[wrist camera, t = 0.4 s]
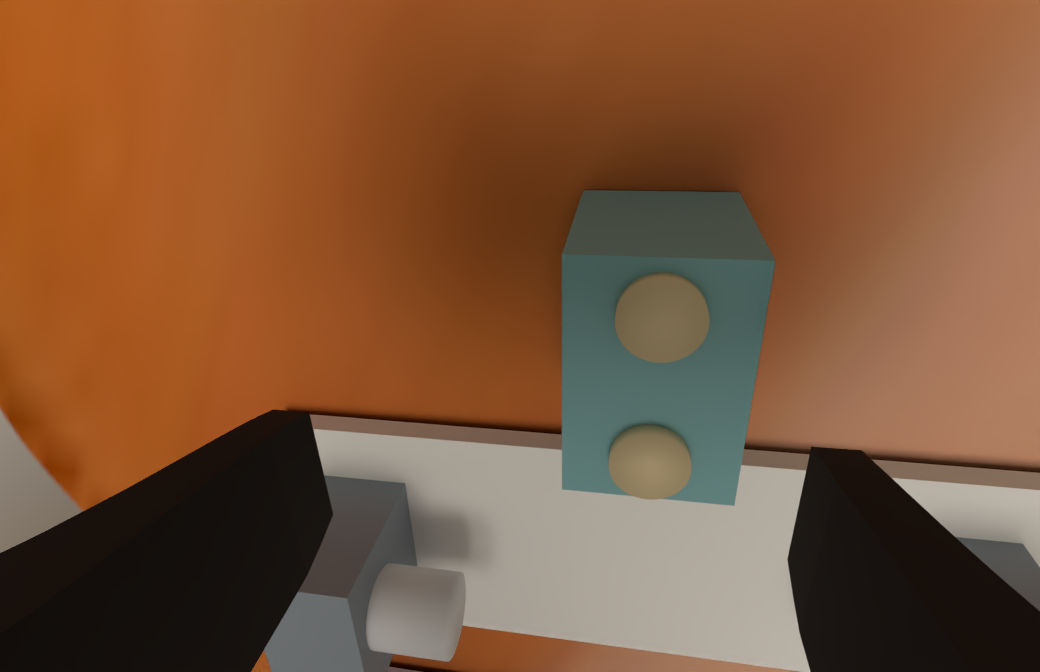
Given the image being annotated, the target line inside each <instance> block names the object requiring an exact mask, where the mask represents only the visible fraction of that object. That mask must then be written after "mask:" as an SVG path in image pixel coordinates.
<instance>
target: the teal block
mask: <svg viewBox="0 0 1040 672" xmlns="http://www.w3.org/2000/svg"><path fill="white" fill-rule="evenodd" d="M774 267H775V259H774V257H773V255H772V253H771V251H770V249H769V247H768V245H767V244H766V242H765V240H764V238H763V236H762V234H761V232H760V230H759V228H758V226H757V224H756V223H755V221H754V219H753V217H752V215H751V213H750V211H749V209H748V207H747V205H746V204H745V202H744V200H743V198H742V196H741V194H740V192H693V191H618V190H583V193H582V196H581V199H580V202H579V205H578V208H577V211H576V214H575V217H574V220H573V223H572V225H571V228H570V231H569V234H568V237H567V240H566V243H565V246H564V249H563V252H562V489H563V490H573V491H584V492H594V493H605V494H615V495H626V496H634V497H637V498H641V499H650V500H654V499H668V500H678V501H689V502H699V503H710V504H720V505H731V506H734V505H735V499H736V493H737V487H738V481H739V475H740V469H741V463H742V457H743V451H744V445H745V439H746V433H747V428H748V422H749V416H750V410H751V404H752V398H753V392H754V386H755V380H756V374H757V368H758V362H759V356H760V350H761V344H762V338H763V333H764V327H765V321H766V315H767V309H768V303H769V297H770V291H771V285H772V279H773V273H774Z"/></svg>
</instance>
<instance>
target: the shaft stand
mask: <svg viewBox="0 0 1040 672" xmlns="http://www.w3.org/2000/svg"><path fill="white" fill-rule="evenodd" d="M310 418H311V422H312V426H313V430H314V435H315V439H316V443H317V447H318V452H319V456H320V460H321V464H322V468H323V473H324V477H325V481H326V485H327V490H328V494H329V498H330V502H331V507H332V511H333V516H332V519H331V521H330V524H329V526H328V529H327V531H326V534H325V536H324V538H323V541H322V543H321V546H320V548H319V550H318V553H317V555H316V557H315V559H314V562H313V564H312V566H311V568H310V571H309V573H308V575H307V577H306V578H305V580H304V582H303V584H302V586H301V587H300V589H299V591H298V593H297V594H296V596H295V598H294V599H293V601H292V603H291V605H290V606H289V608H288V610H287V612H286V613H285V615H284V617H283V618H282V620H281V622H280V624H279V625H278V627H277V629H276V630H275V632H274V634H273V635H272V637H271V639H270V640H269V642H268V644H267V645H266V647H265V649H264V650H265V653H266V656H267V659H268V662H269V665H270V668H271V671H272V672H387V670H388V667H389V665H390V662H391V659H392V657H393V654H398V655H405V656H412V657H418V658H425V659H432V660H439V661H446V662H449V661H450V660H451V659H452V657H453V656H454V653H455V651H456V648H457V645H458V642H459V638H460V634H461V630H462V625H463V626H470V627H477V628H485V629H492V630H499V631H507V632H514V633H521V634H529V635H536V636H543V637H551V638H558V639H565V640H573V641H580V642H587V643H595V644H602V645H610V646H617V647H624V648H632V649H639V650H646V651H654V652H661V653H668V654H676V655H683V656H690V657H698V658H705V659H712V660H720V661H727V662H734V663H742V664H749V665H756V666H764V667H771V668H778V669H786V670H793V671H800V672H810V668H809V665H808V661H807V658H806V654H805V651H804V647H803V644H802V640H801V636H800V633H799V627H798V622H797V616H796V610H795V605H794V599H793V593H792V586H791V580H790V574H789V567H788V561H787V558H788V554H789V549H790V544H791V540H792V535H793V530H794V526H795V521H796V516H797V511H798V507H799V502H800V497H801V493H802V488H803V483H804V479H805V474H806V469H807V465H808V460H809V455H810V454H798V453H785V452H773V451H760V450H748V449H744V451H743V457H742V463H741V469H740V475H739V481H738V487H737V493H736V499H735V505H734V506H731V505H720V504H710V503H699V502H689V501H678V500H668V499H654V500H650V499H641V498H637V497H634V496H626V495H615V494H605V493H594V492H584V491H573V490H563V489H562V435H561V434H549V433H536V432H524V431H511V430H499V429H486V428H474V427H461V426H449V425H436V424H424V423H411V422H399V421H387V420H374V419H362V418H349V417H337V416H324V415H312V414H310ZM873 461H874V462H875V463H876V464H877V465H878V466H879V467H880V468H881V469H882V470H884V471H885V472H886V473H887V474H888V475H889V476H890V477H891V478H892V479H893V480H894V481H895V482H896V483H898V484H899V485H900V486H901V487H902V488H903V489H904V490H905V491H906V492H907V493H908V494H909V495H910V496H911V497H912V498H914V499H915V500H916V501H917V502H918V503H919V504H920V505H921V506H922V507H923V508H924V509H925V510H926V511H928V512H929V513H930V514H931V515H932V516H933V517H934V518H935V519H936V520H937V521H938V522H939V523H940V524H942V525H943V526H944V527H945V528H946V529H947V530H948V531H949V532H950V533H951V534H953V535H954V536H955V537H956V538H957V539H958V540H959V541H960V542H961V543H962V544H963V545H965V546H966V547H967V548H968V549H969V550H970V551H971V552H972V553H974V554H975V555H976V556H977V557H978V558H979V559H980V560H981V561H982V562H984V563H985V564H986V565H987V566H988V567H989V568H990V569H991V570H993V571H994V572H995V573H996V574H997V575H998V576H999V577H1001V578H1002V579H1003V580H1004V581H1005V582H1006V583H1007V584H1009V585H1010V586H1011V587H1012V588H1013V589H1014V590H1016V591H1017V592H1018V593H1019V594H1020V595H1022V596H1023V597H1024V598H1025V599H1026V600H1027V601H1029V602H1030V603H1031V604H1032V605H1033V606H1034V607H1036V608H1037V609H1038V610H1039V611H1040V473H1034V472H1022V471H1010V470H997V469H985V468H972V467H960V466H947V465H935V464H922V463H910V462H897V461H885V460H873Z"/></svg>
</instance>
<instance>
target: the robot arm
mask: <svg viewBox="0 0 1040 672" xmlns="http://www.w3.org/2000/svg"><path fill="white" fill-rule="evenodd" d="M332 516H333V511H332V507H331V502H330V498H329V494H328V490H327V485H326V481H325V477H324V473H323V468H322V464H321V460H320V456H319V452H318V447H317V443H316V439H315V435H314V430H313V426H312V422H311V418H310V414H309V412H299V411H284V410H271V411H269V412H267V413H265V414H263V415H260V416H258V417H256V418H254V419H252V420H250V421H248V422H246V423H244V424H242V425H241V426H239V427H237V428H235V429H233V430H231V431H229V432H228V433H226V434H224V435H222V436H220V437H219V438H217V439H215V440H213V441H211V442H210V443H208V444H206V445H204V446H202V447H201V448H199V449H197V450H195V451H194V452H192V453H190V454H188V455H186V456H185V457H183V458H181V459H179V460H177V461H176V462H174V463H172V464H170V465H169V466H167V467H165V468H163V469H161V470H160V471H158V472H156V473H154V474H152V475H151V476H149V477H147V478H145V479H143V480H142V481H140V482H138V483H136V484H135V485H133V486H131V487H129V488H127V489H125V490H123V491H122V492H120V493H118V494H116V495H114V496H112V497H110V498H108V499H106V500H104V501H102V502H101V503H99V504H97V505H95V506H93V507H91V508H89V509H87V510H85V511H83V512H81V513H80V514H78V515H76V516H74V517H72V518H70V519H68V520H66V521H64V522H62V523H60V524H59V525H57V526H55V527H53V528H51V529H49V530H47V531H45V532H43V533H41V534H39V535H37V536H35V537H33V538H31V539H29V540H27V541H25V542H23V543H21V544H19V545H17V546H15V547H12V548H10V549H8V550H6V551H4V552H2V553H0V672H251V671H252V669H253V667H254V666H255V664H256V662H257V661H258V659H259V657H260V655H261V654H262V652H263V650H264V649H265V647H266V645H267V644H268V642H269V640H270V639H271V637H272V635H273V634H274V632H275V630H276V629H277V627H278V625H279V624H280V622H281V620H282V618H283V617H284V615H285V613H286V612H287V610H288V608H289V606H290V605H291V603H292V601H293V599H294V598H295V596H296V594H297V593H298V591H299V589H300V587H301V586H302V584H303V582H304V580H305V578H306V577H307V575H308V573H309V571H310V568H311V566H312V564H313V562H314V559H315V557H316V555H317V553H318V550H319V548H320V546H321V543H322V541H323V538H324V536H325V534H326V531H327V529H328V526H329V524H330V521H331V519H332ZM787 561H788V567H789V574H790V580H791V586H792V593H793V599H794V605H795V610H796V616H797V622H798V627H799V633H800V636H801V640H802V644H803V647H804V651H805V654H806V658H807V661H808V665H809V668H810V672H1040V611H1039V610H1038V609H1037V608H1036V607H1034V606H1033V605H1032V604H1031V603H1030V602H1029V601H1027V600H1026V599H1025V598H1024V597H1023V596H1022V595H1020V594H1019V593H1018V592H1017V591H1016V590H1014V589H1013V588H1012V587H1011V586H1010V585H1009V584H1007V583H1006V582H1005V581H1004V580H1003V579H1002V578H1001V577H999V576H998V575H997V574H996V573H995V572H994V571H993V570H991V569H990V568H989V567H988V566H987V565H986V564H985V563H984V562H982V561H981V560H980V559H979V558H978V557H977V556H976V555H975V554H974V553H972V552H971V551H970V550H969V549H968V548H967V547H966V546H965V545H963V544H962V543H961V542H960V541H959V540H958V539H957V538H956V537H955V536H954V535H953V534H951V533H950V532H949V531H948V530H947V529H946V528H945V527H944V526H943V525H942V524H940V523H939V522H938V521H937V520H936V519H935V518H934V517H933V516H932V515H931V514H930V513H929V512H928V511H926V510H925V509H924V508H923V507H922V506H921V505H920V504H919V503H918V502H917V501H916V500H915V499H914V498H912V497H911V496H910V495H909V494H908V493H907V492H906V491H905V490H904V489H903V488H902V487H901V486H900V485H899V484H898V483H896V482H895V481H894V480H893V479H892V478H891V477H890V476H889V475H888V474H887V473H886V472H885V471H884V470H882V469H881V468H880V467H879V466H878V465H877V464H876V463H875V462H874V461H873V460H872V459H870V458H869V457H868V456H867V455H866V454H865V453H864V452H862V451H861V450H848V449H834V448H819V447H811V451H810V455H809V460H808V465H807V469H806V474H805V479H804V483H803V488H802V493H801V497H800V502H799V507H798V511H797V516H796V521H795V526H794V530H793V535H792V540H791V544H790V549H789V554H788V558H787ZM387 672H422V671H415V670H408V669H402V668H395V667H388V670H387Z"/></svg>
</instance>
